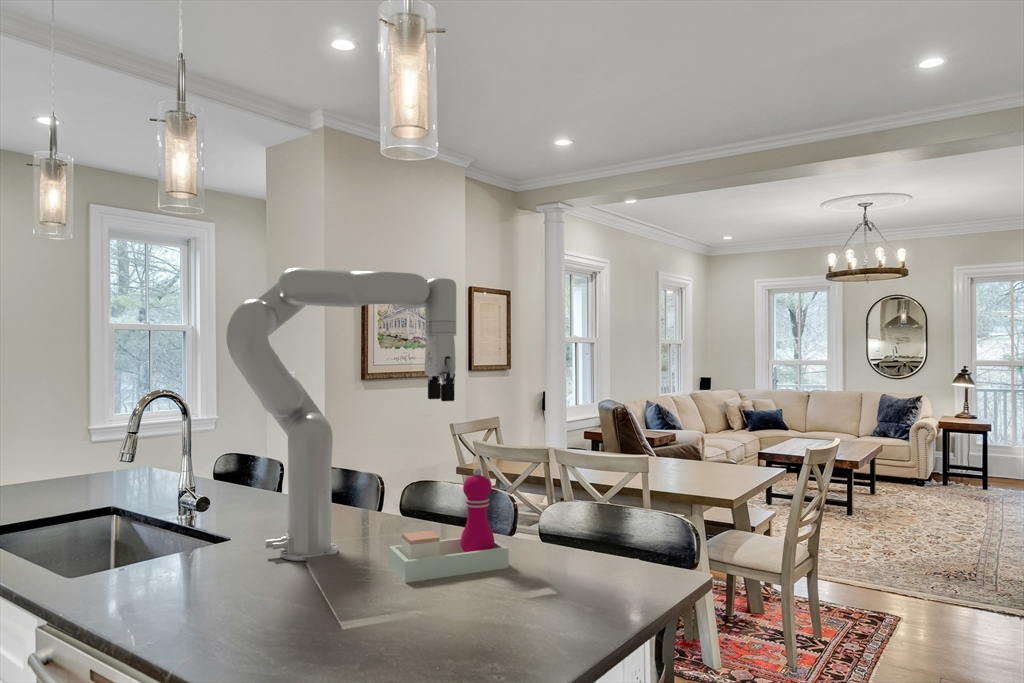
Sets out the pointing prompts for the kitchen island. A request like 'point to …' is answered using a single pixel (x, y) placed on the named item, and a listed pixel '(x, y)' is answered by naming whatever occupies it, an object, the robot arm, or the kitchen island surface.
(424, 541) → the box
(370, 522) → the kitchen island surface
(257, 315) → the robot arm
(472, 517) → the pepper mill
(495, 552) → the tray
